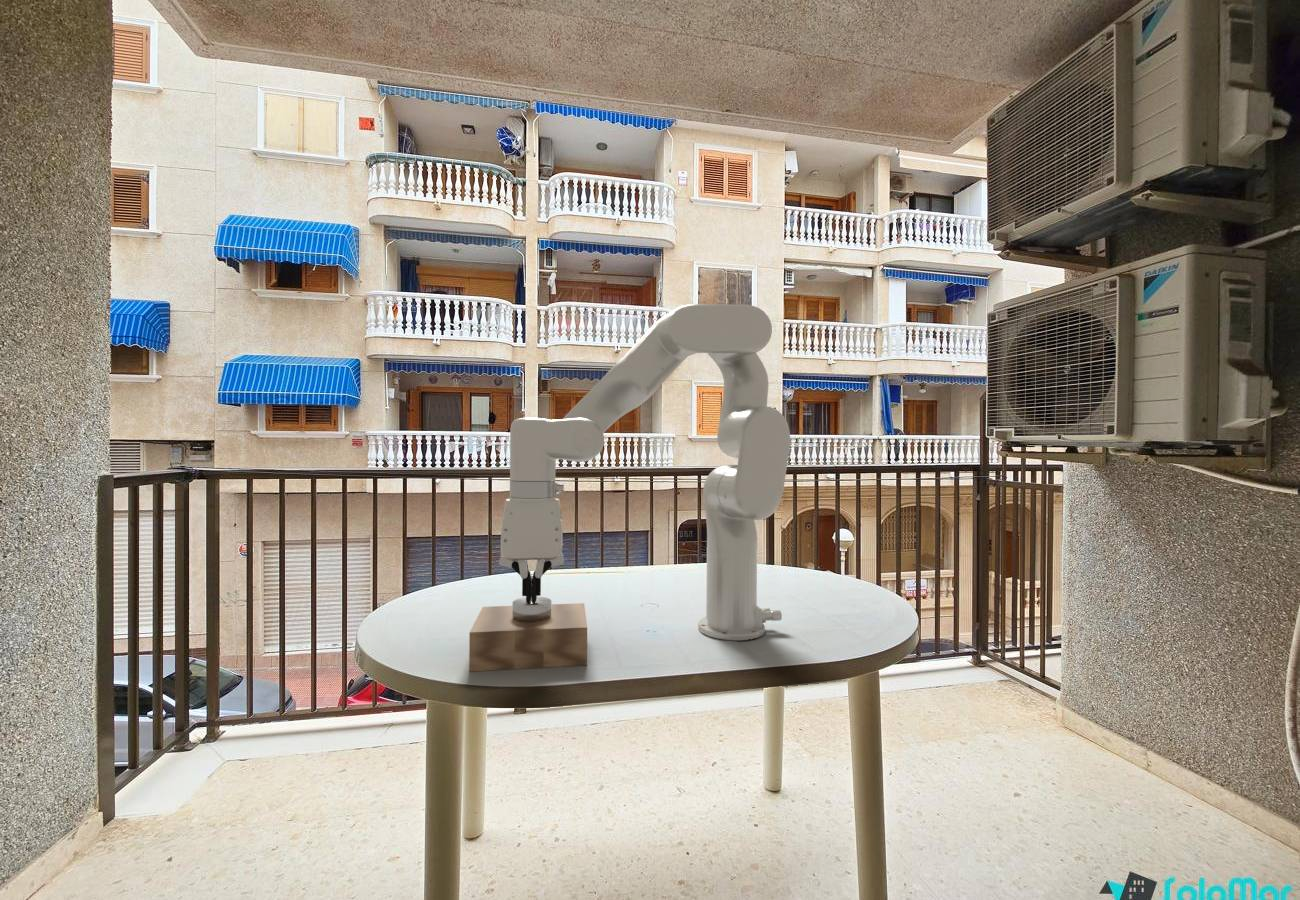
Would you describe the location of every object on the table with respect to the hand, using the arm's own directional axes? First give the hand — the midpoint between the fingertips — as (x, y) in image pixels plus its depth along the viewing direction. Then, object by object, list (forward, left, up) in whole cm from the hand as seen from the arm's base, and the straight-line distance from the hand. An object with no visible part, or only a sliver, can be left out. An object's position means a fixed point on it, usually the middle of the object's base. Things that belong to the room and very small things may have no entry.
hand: (531, 599), depth 93 cm
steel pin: (0, 0, -8) cm, 8 cm away
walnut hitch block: (0, 0, -9) cm, 9 cm away
